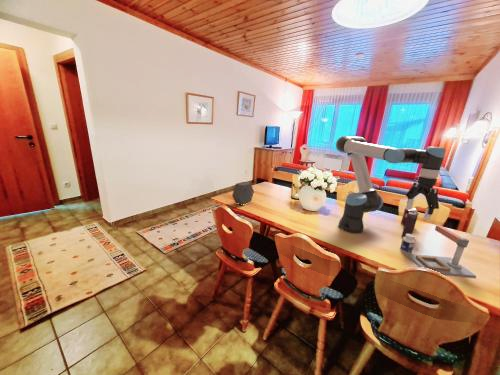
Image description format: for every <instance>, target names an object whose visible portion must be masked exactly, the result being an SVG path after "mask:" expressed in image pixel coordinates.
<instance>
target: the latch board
mask: <svg viewBox="0 0 500 375" xmlns="http://www.w3.org/2000/svg"><path fill="white" fill-rule="evenodd" d="M465 249H466V247H461V246H458V245H457V246H456V249H455V251H454V254H453V257H447V256H437V255H428V254H427V255H425V254H417V253H416V254H415V253H406V256H407V257H408V258H410V260H412V262H414V263H415V264H416V265H417V266H418V267H419V268H420V267H424V268H429V269H432V270H434V271H437V272H440V273H442V274H441V275H451V276H460V277H461V276H462V277H471V278H476V277H477V275H476V274H475V273H473V272H472V271H470V270H469V269H468V268H466V267H465V266H463V265H462V264H460V260H461V258H462V255H463V252H464V251H465Z"/></svg>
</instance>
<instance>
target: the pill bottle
mask: <svg viewBox="0 0 500 375" xmlns="http://www.w3.org/2000/svg"><path fill="white" fill-rule="evenodd" d="M415 238H416V236H415V235H414V234H413V233H412V234H406V235H405V237H402V240H401V244H400V247H399V249H400V251H401V252H403V253H404V254H413V251H414V246H415V243H416V241H415Z"/></svg>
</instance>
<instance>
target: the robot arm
mask: <svg viewBox="0 0 500 375" xmlns="http://www.w3.org/2000/svg"><path fill="white" fill-rule="evenodd" d="M336 140H337V141H336V143H335V148H336V150H337V151H338V152H340V153H345V154H346V155H347V158H348V159H350V161H351V164H352V168H353V172H354V177H355V180H356V183H357V188H358V192H351V193H348V194H347V195H346V198H345V203H344V209H343V214H342V216H341V217H340V220H339V221H338V227H339V228H340V229H341V230H343V231H345V232H348V233H352V234H361V233H363V231H364V221H363V219H364V214H365V213H372V212H376V211H379V210H381V208H382V207H383V205H384V200H383V197H382V196H381V194H379V193H378V191H377V189H376V188H374V187H373V183H372V179H371V176H370V172H369V167H368V164H367V161H366V158H365V157H369V158H374V159H377V160H380V161H381V160H382V161H386V162H387V163H388V164H405V163H406V164H417V165H418V164H419V165H421V166H420V171H419V174H418V175H419V176H418V177H417V182H413V184H412V186H411V188H409V189H408V192H406V194H405V197H407V201H406V207H405V208H406V210H411V209H412V208H413V205H414V202H415V198H417V196H418V195H419V194H422V195H423V196H424V197H425V201H426V204H427V207H426V210H425V212H424V215H423V220H427V221H430V220H431V218H432V215H433V213H434V210H436V209H437V210H438V209H439V206H440V204H439V196H438V192H439V189H438V188H434V186H436V184H437V182H438V181H437V180H438V179H437V178H439V173H440V171H441V168H442V164H443V162H444V158H445V154H446V148H445V147H440V146H427V147H426V148H425V149H417V148H407V147H404V148H403V147H402V148H399V147H393V146H385V145H379V144H374V143H368V142H367V139H365V138H364V137H362V136H358V135H356V136H354V135H342V136H341V137H340V138H338V139H336Z"/></svg>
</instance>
